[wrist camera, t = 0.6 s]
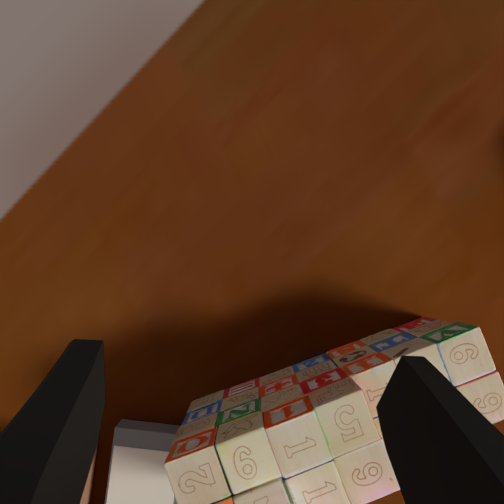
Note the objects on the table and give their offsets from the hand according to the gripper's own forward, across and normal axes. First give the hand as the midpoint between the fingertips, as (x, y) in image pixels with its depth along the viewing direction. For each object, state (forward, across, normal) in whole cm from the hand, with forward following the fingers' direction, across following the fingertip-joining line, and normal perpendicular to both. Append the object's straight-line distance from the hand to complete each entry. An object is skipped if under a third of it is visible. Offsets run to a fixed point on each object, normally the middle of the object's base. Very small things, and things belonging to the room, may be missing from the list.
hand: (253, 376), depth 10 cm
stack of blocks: (+16, -11, +21) cm, 28 cm away
